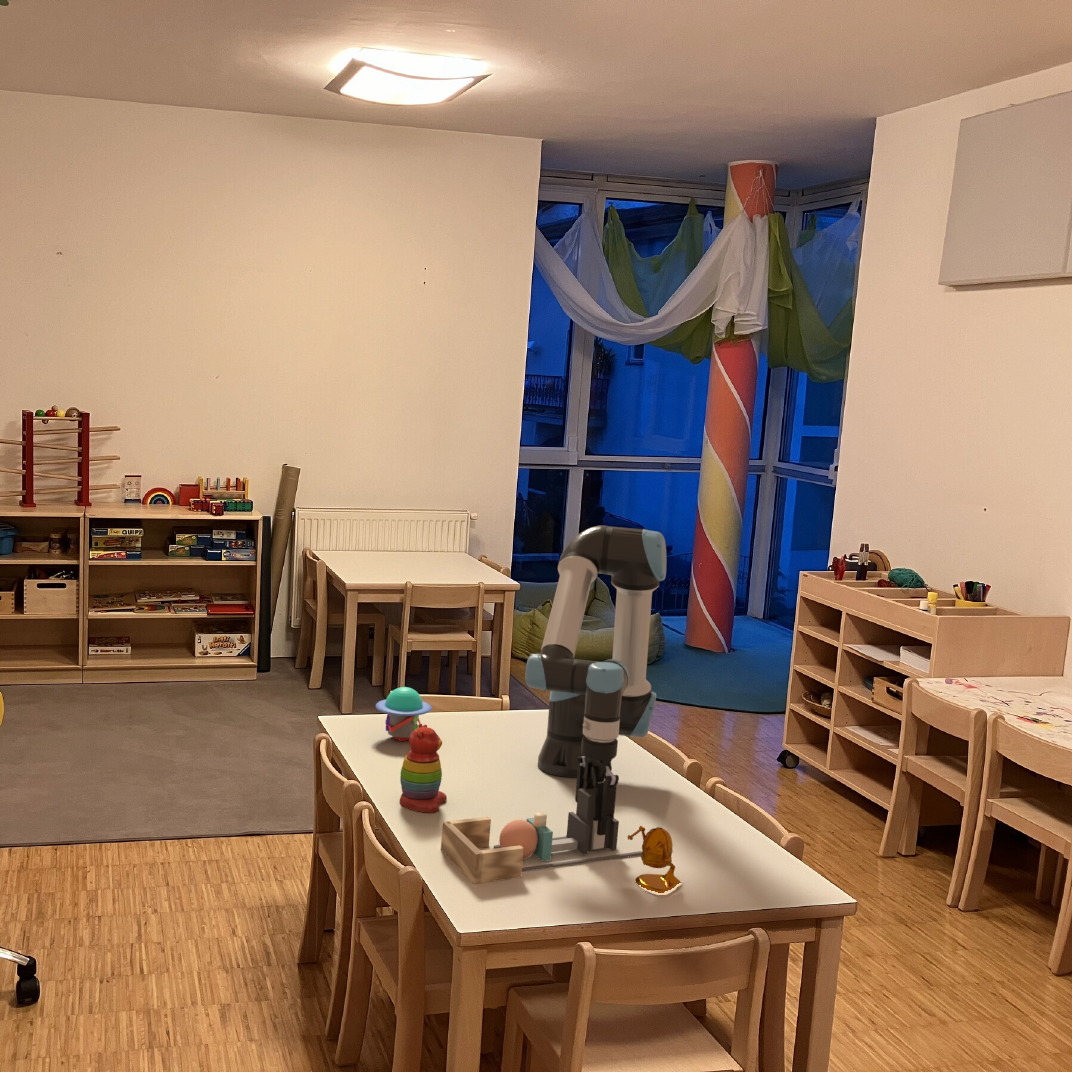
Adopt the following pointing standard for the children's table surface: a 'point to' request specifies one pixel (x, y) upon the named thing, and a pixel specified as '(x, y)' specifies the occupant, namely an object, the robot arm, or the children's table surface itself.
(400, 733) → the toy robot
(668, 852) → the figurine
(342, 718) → the children's table surface
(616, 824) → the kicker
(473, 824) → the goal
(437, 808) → the stacking bear
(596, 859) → the track
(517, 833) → the toy ball
